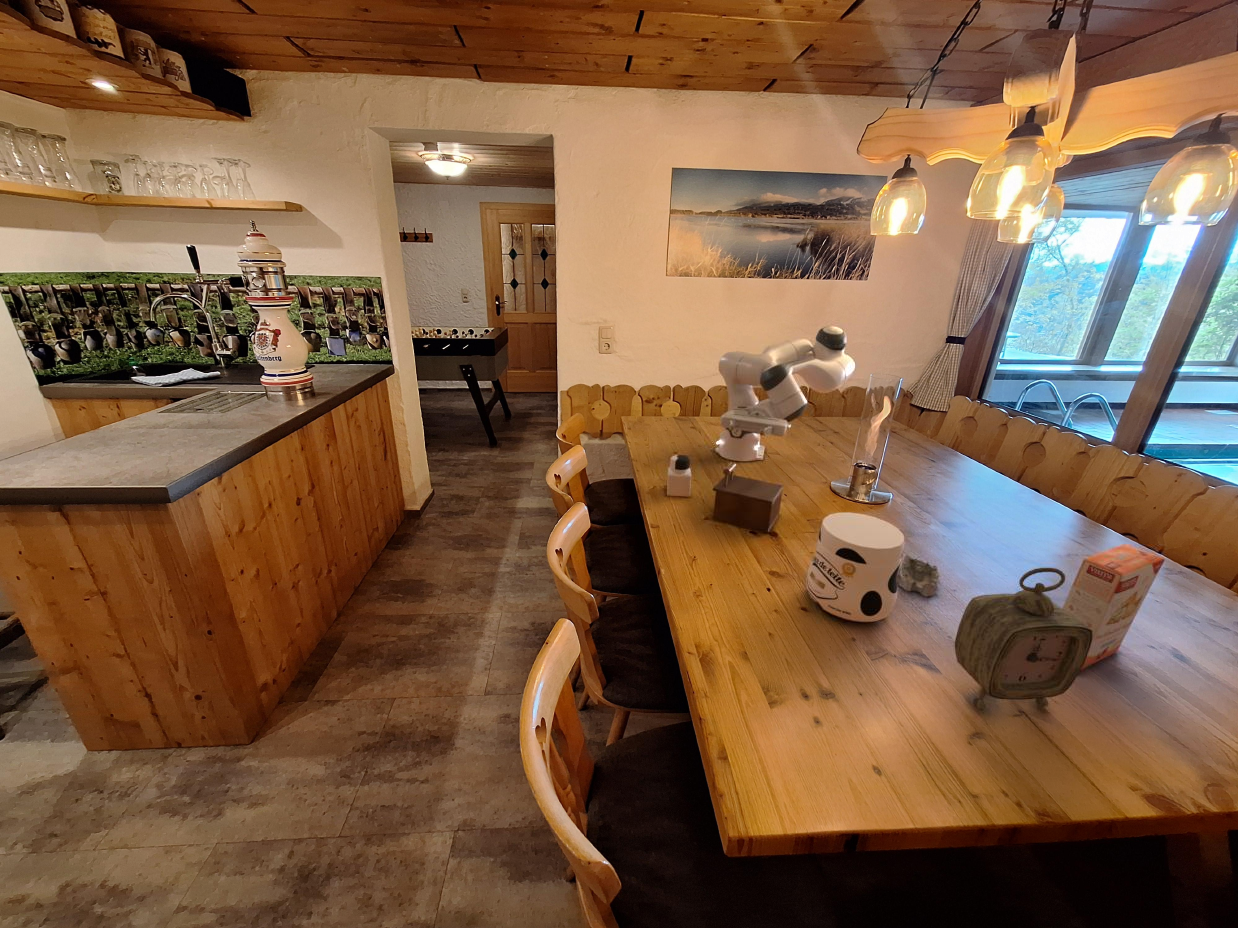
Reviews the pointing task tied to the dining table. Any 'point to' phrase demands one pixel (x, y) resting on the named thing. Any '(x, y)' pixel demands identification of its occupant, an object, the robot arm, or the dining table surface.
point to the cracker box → (1111, 595)
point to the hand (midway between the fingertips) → (746, 430)
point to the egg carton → (918, 576)
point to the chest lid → (747, 487)
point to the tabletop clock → (1021, 644)
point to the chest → (746, 511)
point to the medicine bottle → (679, 476)
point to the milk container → (856, 567)
